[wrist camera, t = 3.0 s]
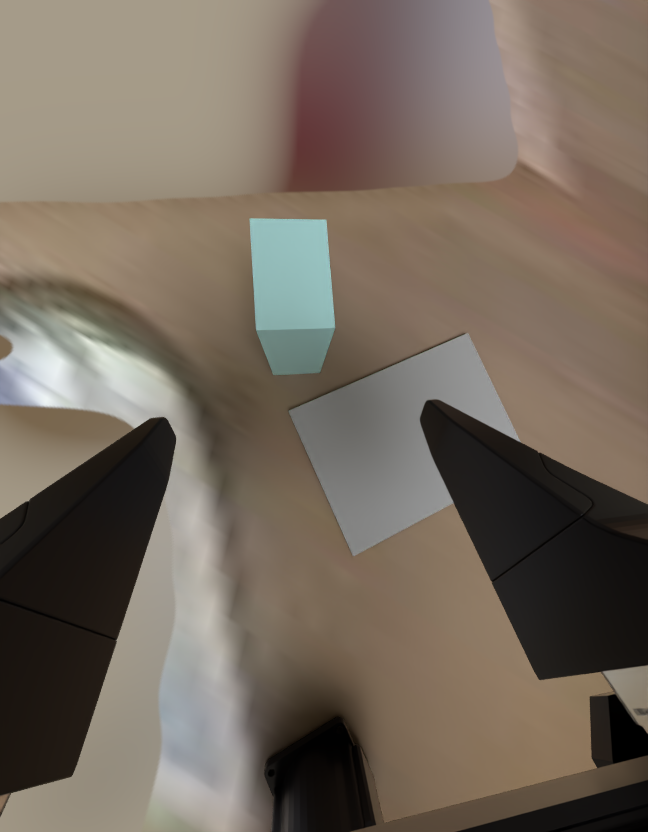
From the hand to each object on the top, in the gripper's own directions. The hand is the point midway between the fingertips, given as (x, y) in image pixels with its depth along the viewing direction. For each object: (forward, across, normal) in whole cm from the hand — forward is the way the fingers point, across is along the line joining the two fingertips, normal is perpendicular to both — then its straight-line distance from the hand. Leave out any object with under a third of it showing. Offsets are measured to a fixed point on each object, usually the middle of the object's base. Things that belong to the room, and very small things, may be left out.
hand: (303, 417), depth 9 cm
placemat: (+8, -10, +10) cm, 16 cm away
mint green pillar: (+14, 0, +3) cm, 15 cm away
